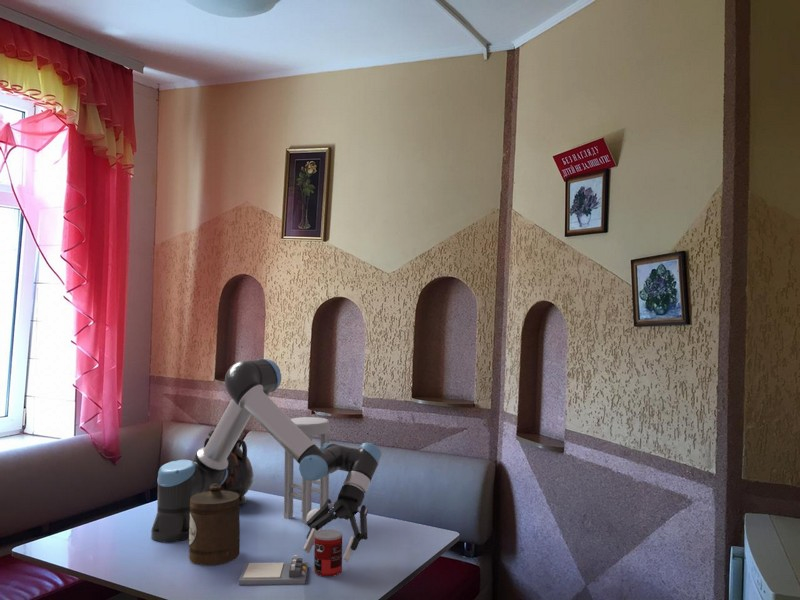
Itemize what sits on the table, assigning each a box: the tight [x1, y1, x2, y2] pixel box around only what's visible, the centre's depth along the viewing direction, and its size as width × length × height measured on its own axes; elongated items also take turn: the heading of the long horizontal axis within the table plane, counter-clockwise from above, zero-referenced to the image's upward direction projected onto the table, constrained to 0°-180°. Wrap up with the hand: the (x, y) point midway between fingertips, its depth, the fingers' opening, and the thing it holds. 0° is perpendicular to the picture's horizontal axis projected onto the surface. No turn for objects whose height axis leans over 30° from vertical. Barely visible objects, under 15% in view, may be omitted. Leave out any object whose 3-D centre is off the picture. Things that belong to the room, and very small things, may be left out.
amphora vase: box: [203, 429, 254, 508], centre depth 252 cm, size 22×22×28 cm
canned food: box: [313, 528, 343, 577], centre depth 189 cm, size 8×8×11 cm
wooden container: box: [188, 483, 241, 566], centre depth 200 cm, size 15×15×22 cm
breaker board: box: [238, 554, 309, 586], centre depth 186 cm, size 18×12×4 cm, turn 94°
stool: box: [283, 416, 331, 524], centre depth 239 cm, size 16×16×35 cm
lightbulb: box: [306, 508, 323, 544], centre depth 212 cm, size 6×6×11 cm
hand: (325, 555), depth 188 cm, fingers open, 13 cm apart
